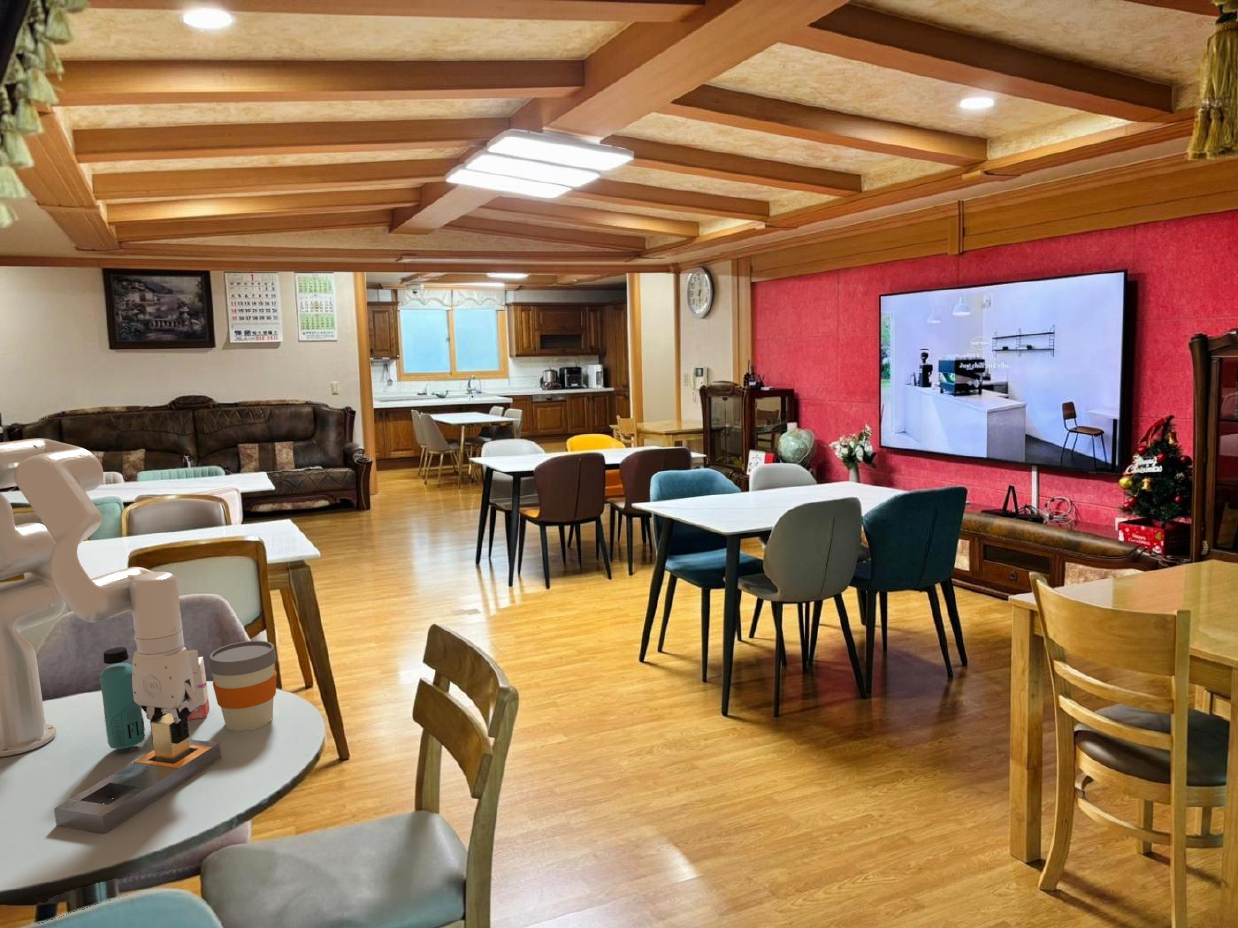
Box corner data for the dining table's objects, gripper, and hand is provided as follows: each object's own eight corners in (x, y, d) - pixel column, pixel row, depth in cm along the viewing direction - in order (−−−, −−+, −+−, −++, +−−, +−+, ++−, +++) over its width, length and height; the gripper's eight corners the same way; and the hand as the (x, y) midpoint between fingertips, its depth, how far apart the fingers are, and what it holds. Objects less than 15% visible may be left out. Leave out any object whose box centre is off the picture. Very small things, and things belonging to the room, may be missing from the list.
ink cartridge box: (210, 708, 190) (203, 642, 188) (206, 717, 185) (199, 649, 183) (165, 714, 187) (158, 647, 185) (161, 724, 183) (153, 655, 180)
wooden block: (156, 764, 161) (151, 722, 160) (172, 754, 165) (168, 713, 164) (173, 766, 160) (169, 724, 159) (190, 756, 164) (186, 715, 162)
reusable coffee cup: (280, 728, 179) (273, 656, 176) (212, 739, 175) (204, 666, 173) (283, 704, 190) (277, 636, 188) (219, 713, 187) (212, 645, 185)
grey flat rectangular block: (56, 825, 145) (53, 807, 145) (177, 752, 170) (176, 736, 169) (104, 833, 142) (102, 815, 142) (221, 757, 167) (219, 742, 166)
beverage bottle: (130, 757, 168) (117, 656, 165) (99, 755, 170) (86, 654, 167) (154, 742, 175) (142, 643, 172) (125, 740, 176) (113, 642, 173)
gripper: (105, 646, 158) (117, 743, 161) (182, 653, 153) (193, 753, 156) (139, 632, 165) (150, 725, 168) (213, 638, 160) (224, 734, 163)
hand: (171, 738), depth 162 cm, fingers closed on wooden block, 4 cm apart
